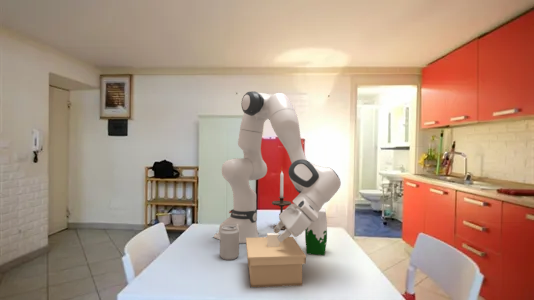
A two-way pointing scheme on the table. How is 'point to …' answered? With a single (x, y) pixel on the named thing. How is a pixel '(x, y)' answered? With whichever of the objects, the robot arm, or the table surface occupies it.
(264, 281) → the carton
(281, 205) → the candlestick
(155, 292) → the table surface
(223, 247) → the can
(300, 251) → the carton lid
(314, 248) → the milk carton
